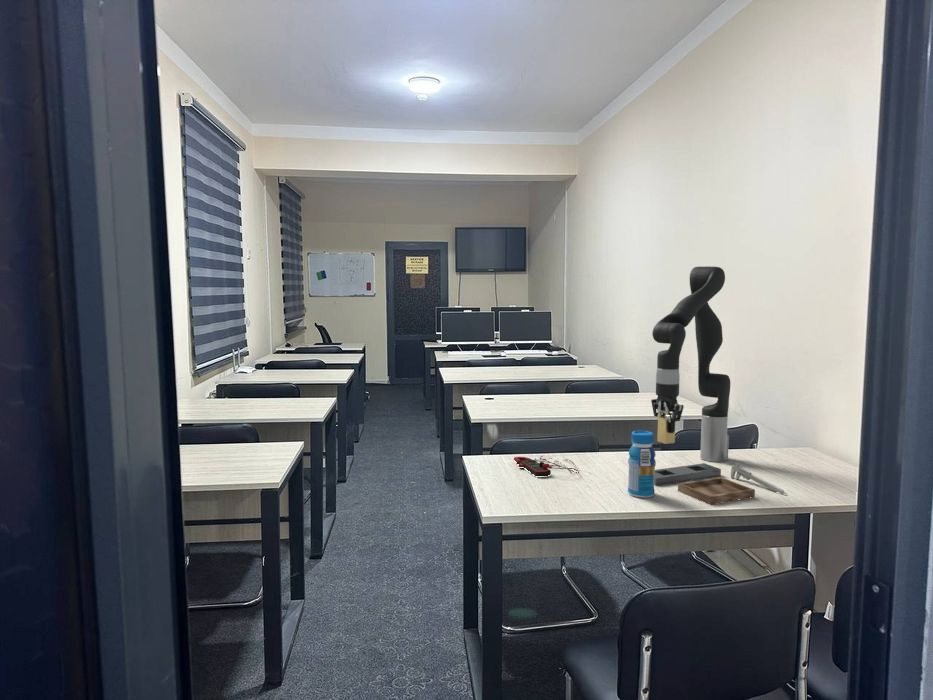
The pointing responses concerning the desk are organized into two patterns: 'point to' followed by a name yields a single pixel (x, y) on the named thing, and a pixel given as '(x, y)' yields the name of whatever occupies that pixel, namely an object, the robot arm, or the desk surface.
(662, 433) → the peg
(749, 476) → the caliper
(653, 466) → the beverage bottle
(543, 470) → the digital clamp meter
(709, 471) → the rail
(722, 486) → the tray
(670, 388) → the robot arm
